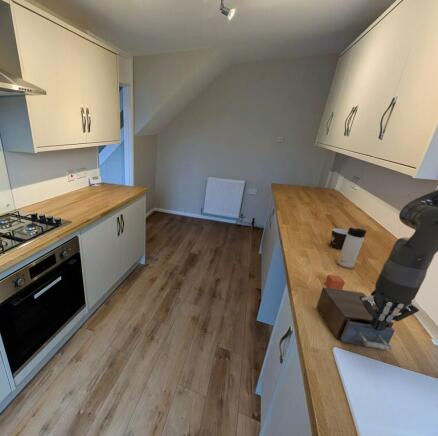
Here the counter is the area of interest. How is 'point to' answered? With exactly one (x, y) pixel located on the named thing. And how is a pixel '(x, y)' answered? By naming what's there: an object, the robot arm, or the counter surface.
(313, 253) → the counter surface
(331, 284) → the block
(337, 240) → the coffee mug
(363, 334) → the drawer
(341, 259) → the travel mug
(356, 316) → the cabinet
